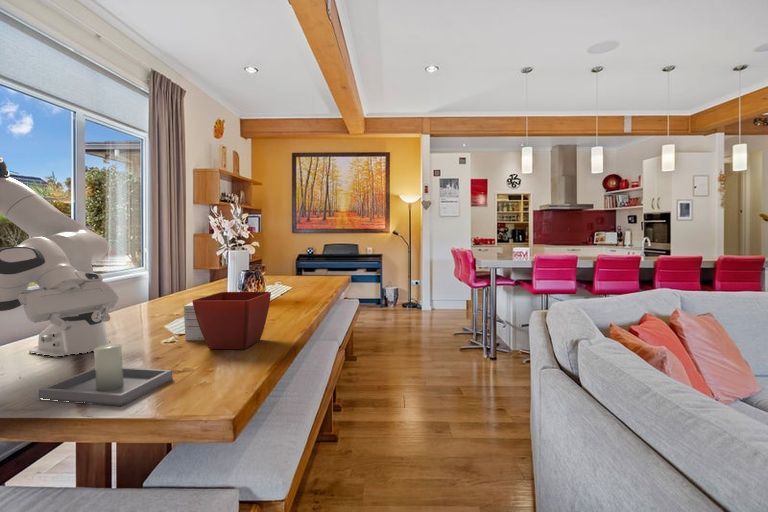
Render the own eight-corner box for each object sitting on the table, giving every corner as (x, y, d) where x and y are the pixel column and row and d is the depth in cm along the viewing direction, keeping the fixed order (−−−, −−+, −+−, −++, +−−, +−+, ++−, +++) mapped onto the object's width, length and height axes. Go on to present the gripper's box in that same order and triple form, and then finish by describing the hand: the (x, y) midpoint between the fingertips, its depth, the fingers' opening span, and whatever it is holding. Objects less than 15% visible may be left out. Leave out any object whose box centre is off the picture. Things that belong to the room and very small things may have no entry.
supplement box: (192, 335, 146) (191, 301, 146) (213, 334, 147) (212, 301, 146) (184, 340, 139) (182, 305, 138) (206, 340, 140) (204, 305, 139)
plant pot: (223, 336, 144) (221, 291, 143) (273, 337, 142) (271, 291, 141) (192, 352, 126) (190, 300, 124) (249, 353, 123) (247, 300, 122)
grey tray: (39, 400, 90) (38, 389, 90) (100, 375, 106) (99, 365, 106) (121, 406, 87) (121, 395, 86) (172, 379, 102) (172, 370, 102)
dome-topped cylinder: (90, 390, 94) (88, 349, 93) (110, 381, 99) (108, 343, 99) (110, 391, 93) (107, 350, 93) (129, 383, 99) (127, 344, 98)
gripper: (18, 283, 95) (44, 326, 92) (106, 273, 114) (131, 308, 110) (10, 300, 97) (35, 343, 94) (98, 288, 116) (122, 323, 112)
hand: (87, 324), depth 102 cm, fingers open, 8 cm apart
